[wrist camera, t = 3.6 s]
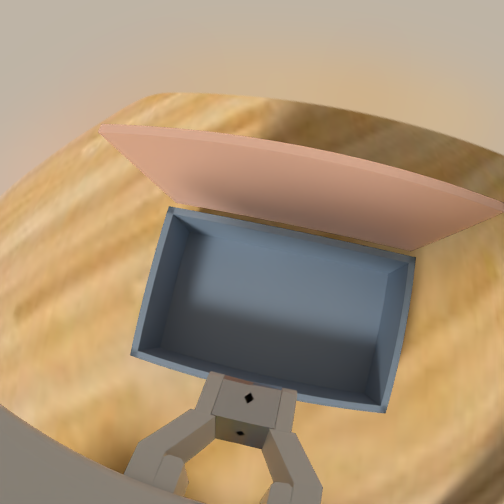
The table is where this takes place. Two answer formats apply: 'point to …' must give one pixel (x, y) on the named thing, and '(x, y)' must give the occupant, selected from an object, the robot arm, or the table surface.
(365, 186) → the lid
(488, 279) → the table surface
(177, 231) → the mailer
